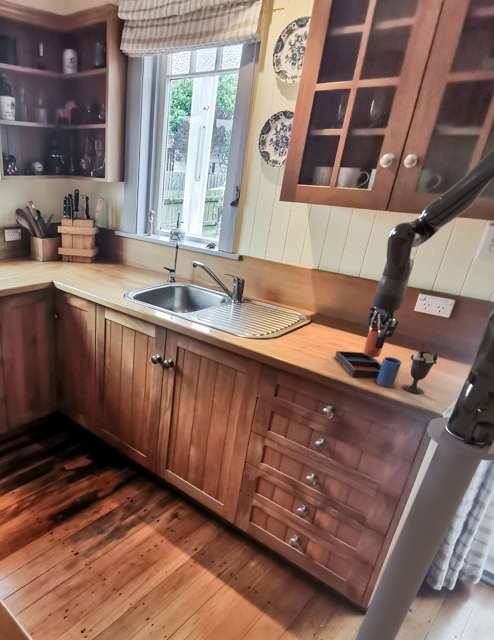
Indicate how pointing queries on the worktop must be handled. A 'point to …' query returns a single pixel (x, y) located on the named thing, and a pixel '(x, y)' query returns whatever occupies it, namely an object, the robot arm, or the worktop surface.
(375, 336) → the terracotta cup
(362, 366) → the tray
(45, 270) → the worktop surface
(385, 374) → the blue cup
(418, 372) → the sundae
